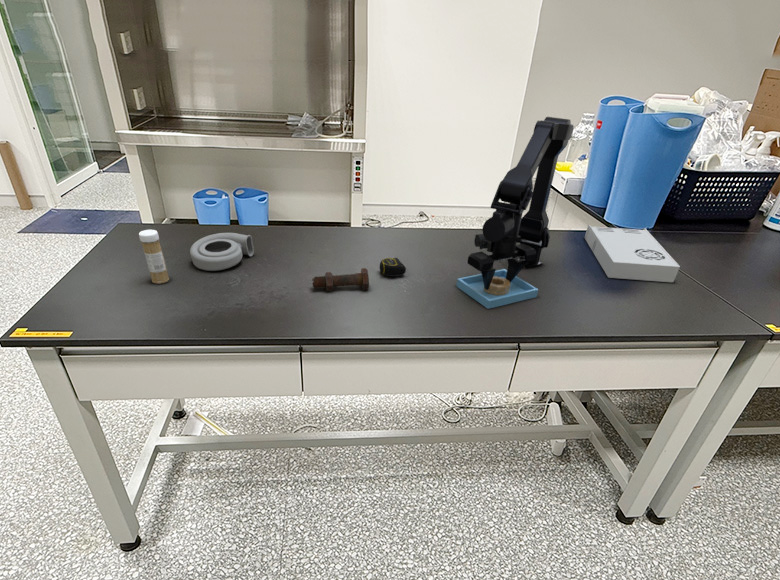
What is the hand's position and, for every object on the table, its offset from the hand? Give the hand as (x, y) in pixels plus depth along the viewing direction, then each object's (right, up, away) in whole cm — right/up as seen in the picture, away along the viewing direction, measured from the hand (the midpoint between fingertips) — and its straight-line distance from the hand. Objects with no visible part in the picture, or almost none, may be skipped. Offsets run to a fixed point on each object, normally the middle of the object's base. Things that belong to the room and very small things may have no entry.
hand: (496, 286), depth 137 cm
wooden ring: (0, -1, +1) cm, 1 cm away
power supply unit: (+46, +14, +23) cm, 54 cm away
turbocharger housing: (-79, +10, +11) cm, 81 cm away
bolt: (-43, -1, -1) cm, 43 cm away
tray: (0, -1, +1) cm, 1 cm away
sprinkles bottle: (-92, +1, -1) cm, 92 cm away
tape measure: (-28, +6, +8) cm, 30 cm away
